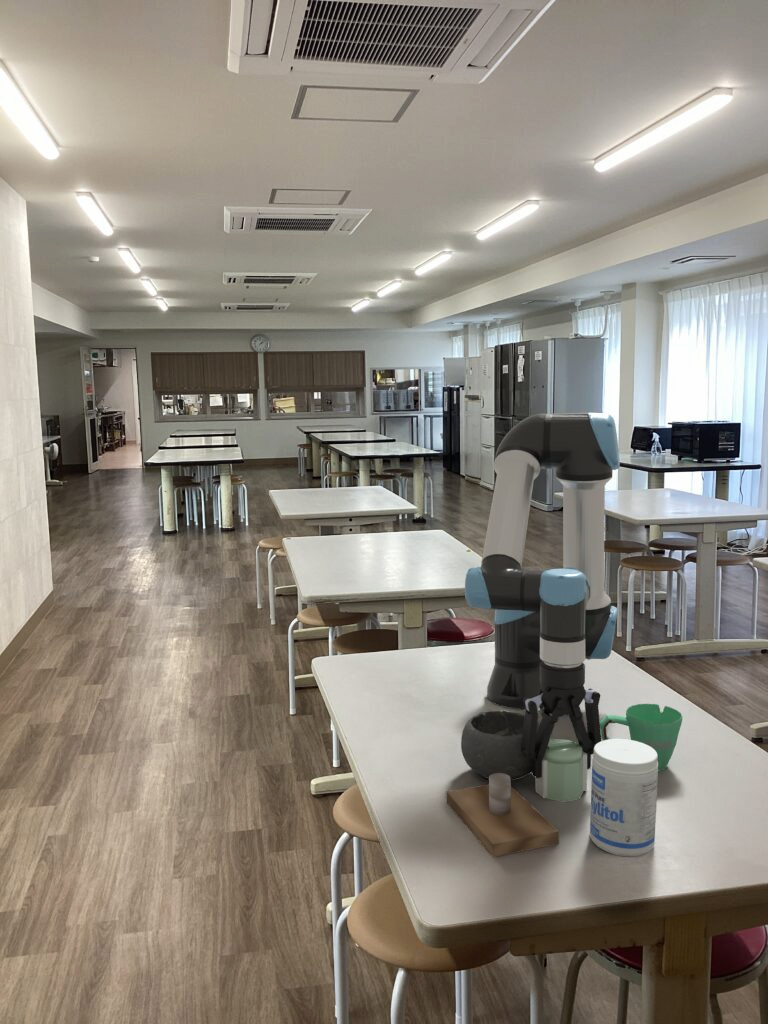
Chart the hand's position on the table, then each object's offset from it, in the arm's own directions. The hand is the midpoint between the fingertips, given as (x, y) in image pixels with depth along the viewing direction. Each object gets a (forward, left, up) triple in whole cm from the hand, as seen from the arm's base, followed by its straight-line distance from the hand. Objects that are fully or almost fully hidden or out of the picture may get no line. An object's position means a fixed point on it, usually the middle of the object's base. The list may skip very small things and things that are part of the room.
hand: (561, 790), depth 143 cm
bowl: (+7, -10, -1) cm, 12 cm away
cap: (0, 0, 0) cm, 0 cm away
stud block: (+15, +6, 0) cm, 16 cm away
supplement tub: (0, +18, -1) cm, 18 cm away
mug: (-19, -5, -1) cm, 19 cm away
